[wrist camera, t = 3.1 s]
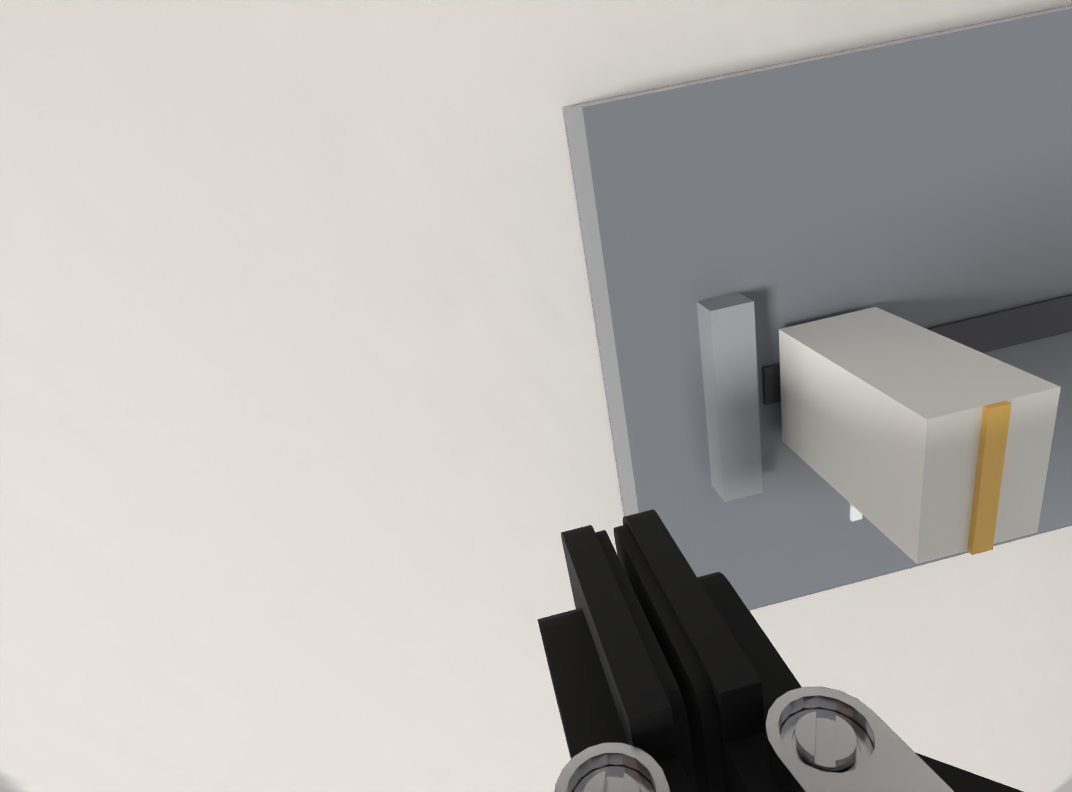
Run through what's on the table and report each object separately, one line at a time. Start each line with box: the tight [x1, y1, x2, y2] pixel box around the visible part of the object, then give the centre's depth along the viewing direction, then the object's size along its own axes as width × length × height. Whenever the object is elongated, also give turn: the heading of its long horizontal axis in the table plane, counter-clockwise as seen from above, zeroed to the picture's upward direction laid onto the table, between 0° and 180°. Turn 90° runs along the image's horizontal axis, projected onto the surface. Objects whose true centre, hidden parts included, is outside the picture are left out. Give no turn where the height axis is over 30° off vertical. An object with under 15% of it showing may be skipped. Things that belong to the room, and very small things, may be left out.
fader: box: [779, 307, 1061, 564], centre depth 14 cm, size 3×2×5 cm
